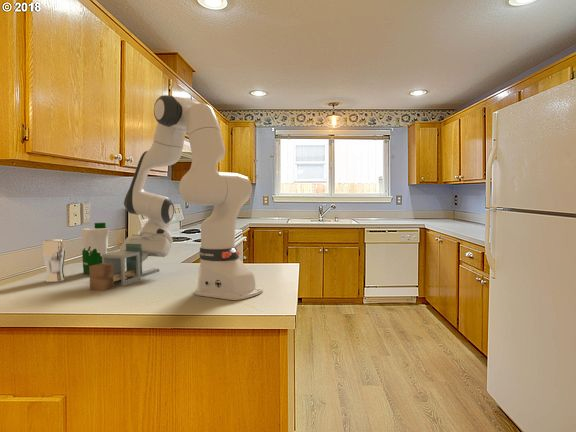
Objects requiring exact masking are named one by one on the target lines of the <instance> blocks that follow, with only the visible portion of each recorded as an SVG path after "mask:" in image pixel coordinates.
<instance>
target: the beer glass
mask: <svg viewBox="0 0 576 432" xmlns="http://www.w3.org/2000/svg"><path fill="white" fill-rule="evenodd" d="M42 241H43V244H42V256H43V261H44V265H45V269H46V276H45V282H46V283H59V282H64V281H65V280H66V278H65V274H64V273H65V272H64V267H65V261H66V243H65V239H64V238H63V239H62V238H51V239H45V240H44V239H43V240H42Z"/></svg>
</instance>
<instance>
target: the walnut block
mask: <svg viewBox="0 0 576 432" xmlns="http://www.w3.org/2000/svg"><path fill="white" fill-rule="evenodd" d="M89 272H90V275H89V291H96V292H97V291H100V292H104V291H107V290H110V289H113V288H114V282H113V264H102V263H100V264H96V265H92V266H89Z"/></svg>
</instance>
